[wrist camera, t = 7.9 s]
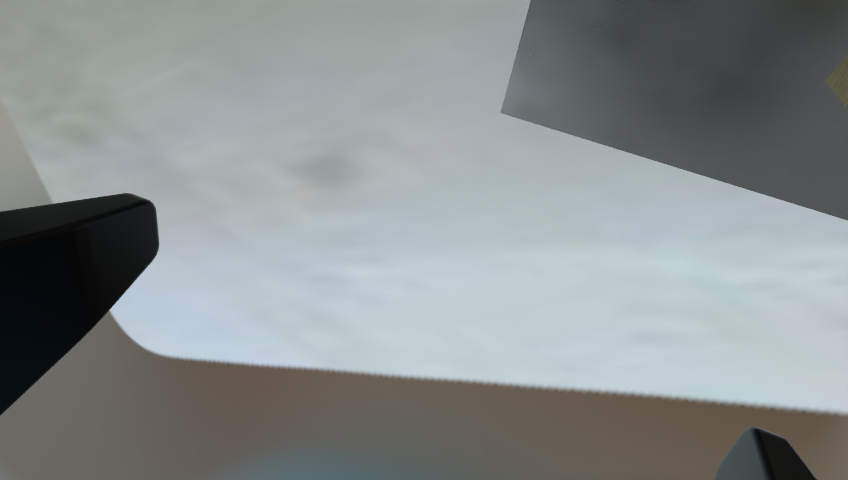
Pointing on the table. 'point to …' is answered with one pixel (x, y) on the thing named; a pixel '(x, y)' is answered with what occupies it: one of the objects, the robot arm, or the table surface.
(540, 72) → the lock base
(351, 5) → the table surface
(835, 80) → the brass lock knob
